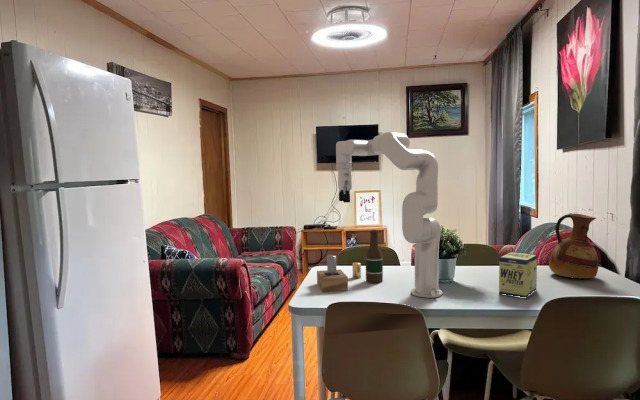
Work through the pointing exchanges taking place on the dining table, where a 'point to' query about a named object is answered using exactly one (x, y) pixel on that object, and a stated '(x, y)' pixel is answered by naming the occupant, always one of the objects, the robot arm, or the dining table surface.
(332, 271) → the long steel pin
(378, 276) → the beer bottle
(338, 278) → the walnut hole block
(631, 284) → the dining table surface
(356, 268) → the short brass pin
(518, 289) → the protein box
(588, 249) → the ceramic pitcher
